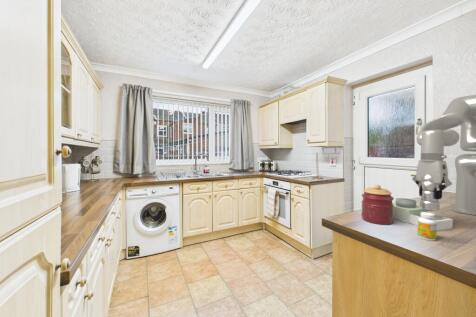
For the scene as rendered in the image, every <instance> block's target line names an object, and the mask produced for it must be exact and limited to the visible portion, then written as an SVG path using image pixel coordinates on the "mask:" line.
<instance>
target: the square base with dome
mask: <svg viewBox="0 0 476 317" xmlns="http://www.w3.org/2000/svg"><path fill="white" fill-rule="evenodd" d="M392 204H393V205H394V206H393V219H396V220H398V221H400V222H401V221H402V222H404V223H407V224H412V225H414V226H417V227H418V219H419V218H421V212H427V213H429V211H426V210H423V209H421V207H420V205H417V201H416V200H414V199H411V198H406V197H405V198H403V197H398V198H395V202H392ZM434 215H435V218H434V220H435V221H436V222H437V228H436V232H437V231H443V230H449V229H450V230H451V229H453V224H454V222H453V221H454V219H452V218H448V217H445V216H442V215H437V214H434Z"/></svg>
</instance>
